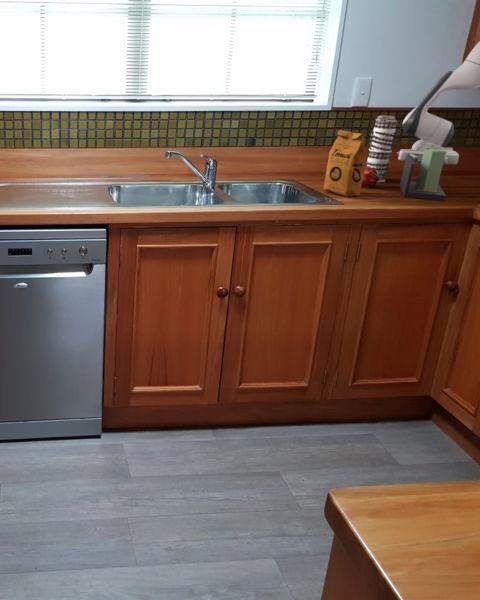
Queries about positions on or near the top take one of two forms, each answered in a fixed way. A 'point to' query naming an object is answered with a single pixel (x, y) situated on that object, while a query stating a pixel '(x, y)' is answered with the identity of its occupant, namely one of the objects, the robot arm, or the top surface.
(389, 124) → the decorative candle
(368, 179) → the dragon fruit
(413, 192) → the grey l-shaped bracket
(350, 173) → the coffee package
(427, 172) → the carton
